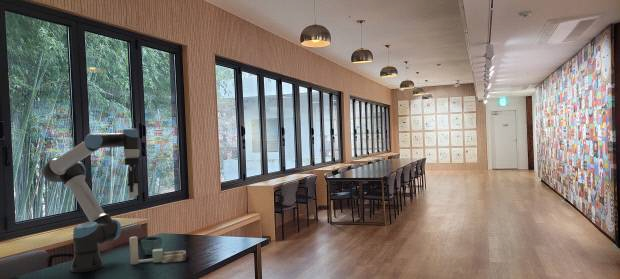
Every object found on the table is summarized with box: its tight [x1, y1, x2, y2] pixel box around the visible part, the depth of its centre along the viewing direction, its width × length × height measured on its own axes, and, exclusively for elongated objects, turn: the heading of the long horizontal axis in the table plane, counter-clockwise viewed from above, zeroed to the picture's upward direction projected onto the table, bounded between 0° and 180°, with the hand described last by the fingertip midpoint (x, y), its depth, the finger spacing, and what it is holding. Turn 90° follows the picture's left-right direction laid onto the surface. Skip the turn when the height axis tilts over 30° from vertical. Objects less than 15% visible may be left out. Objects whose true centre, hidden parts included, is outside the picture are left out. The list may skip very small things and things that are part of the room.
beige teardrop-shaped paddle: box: [129, 236, 164, 265], centre depth 245 cm, size 16×5×14 cm, turn 104°
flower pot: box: [140, 236, 163, 256], centre depth 264 cm, size 9×9×9 cm
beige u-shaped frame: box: [161, 249, 187, 264], centre depth 249 cm, size 12×9×4 cm
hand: (133, 196), depth 244 cm, fingers open, 13 cm apart
